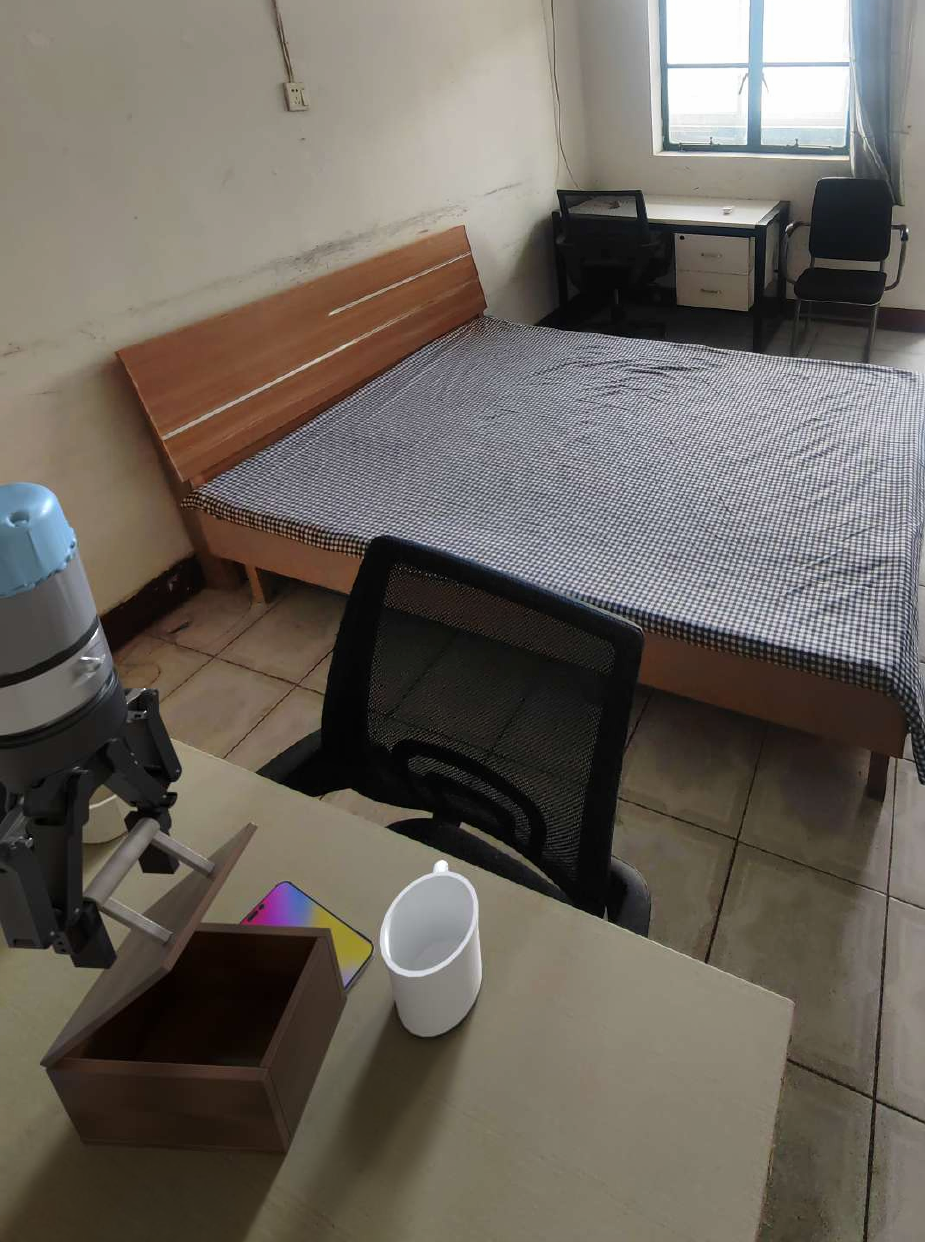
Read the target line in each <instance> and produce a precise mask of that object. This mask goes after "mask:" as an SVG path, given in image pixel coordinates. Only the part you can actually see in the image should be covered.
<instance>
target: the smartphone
mask: <svg viewBox="0 0 925 1242" xmlns="http://www.w3.org/2000/svg"><path fill="white" fill-rule="evenodd" d="M238 924H252V925H274V926H296V927H318V928H330V929H331V933H332V937H333V942H334V946H335V950H336V954H337V959H338V963H339V967H340V971H341V976H342V980H343V984H344V988H345V992H346V994H347V993H348V992H349V990H350V989H351V987H353V985H354V983H355V982H356V981H357V980H358V978H359V977H360V976H361V974H362V973H363V972H364V971H365V970H366V968H367V967H368V965H369V964H370V963H371V962H372V960H373V958H374V956H375V953H376V948H375V944H374V942H373V940H371V939H370V938H368V937H367V936H366V935H364V934H363V933H361V932H360V931H359V930H357V929H356V928H355V927H353V926H352V925H351V924H349V923H348V922H346V921H345V920H344V919H343V918H341V917H340V916H338V915H337V914H336V913H334V912H333V911H332V910H330V909H329V908H328V907H326V906H325V905H324V904H322V903H321V902H320V901H318V900H316V899H315V898H314V897H312V896H311V895H309V894H308V892H306V891H304V890H303V889H301V888H300V887H299V886H297V885H296V884H295V883H293V881H290V880H289V879H286V880H285V879H284V880H282V881H279V882H278V883H277V884H275V885H274V886H273V887H272V889H270V890H269V892H268V893H266V895H264V896H263V898H262V899H261V900H260V901H259V902H258V903H257V904H256V905H255V906H254V907H253V908H252V909H251V910H250V911H249V912H248V913H247V914H246V915H245V916H244V917H243V918H242V919H241V920H240V922H238Z"/></svg>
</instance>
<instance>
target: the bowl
mask: <svg viewBox="0 0 925 1242" xmlns="http://www.w3.org/2000/svg"><path fill="white" fill-rule="evenodd" d="M130 753H131V754H133V753H132V752H130ZM135 763H137V762H135ZM130 811H137V808H136V807H130V806H129V805H128V804H127V803H125V802H124V801H123V800H122V799H120V798H119V797H118V796H117V795H116V794H114V793H113V792H112V791H111V790H109V789H108V788H107V787H106V786H104V785H103V784H102V785H101V786H100V787H99V788H98V789H97V790H96V791H95V793H94V794H93V796H92V797H91V799H90V800H89V821H88V823H86V824H85V825H84V826H83V843H84V844H92V843H93V844H94V843H97V844H102V843H101V842H103V843H106V842H109V841H111V840H115V839H116V838H118V837H120V836H121V835H123V834H125V833H126V832H128V831H127V828H126V825H125V822H124V818H125V817H126V816H127V815H128V813H129V812H130ZM93 844H92V845H93Z"/></svg>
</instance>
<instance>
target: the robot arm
mask: <svg viewBox="0 0 925 1242" xmlns="http://www.w3.org/2000/svg"><path fill="white" fill-rule="evenodd" d="M70 526H71V525H70V522H69V521H68V520H67V519H66V517H65V514H64V512H63V509H62V507H61V504H60V502H59V500H58V497H57V496H56V494H55V493H54V492H53V491H52V490H50V489H48V488H47V487H45V486H44V485H40V484H37V483H32V482H23V481H15V482H11V483H8V484H4V485H0V782H1V784H2V785H3V786H4V787H5V789H6V798H5V803H4V804H5V805H4V809H5V812H6V813H7V814H6V816H5V817H4V819H2V821H1V823H0V927H1V929H2V933H3V935H4V938H5V941H6V944H7V947H8V948H9V949H20V950H21V949H23V950H48V949H49V948H51V947H52V948H53V951H54V953H55V954H57V955H66V956H67V955H68V956H69V957H70V960H71V962H72V964H73V966H74V968H77V969H96V970H97V969H98V970H104V969H110V968H111V966H112V965H113V963H114V962H115V960H116V959H117V955H116V953H115V952H116V950H115V948H114V945H113V943H112V940H111V938H110V935H109V933H108V930H107V927H106V925H105V923H104V920H103V918H102V916H101V912H100V911H99V910H98V908H97V905H96V903H95V901H83V892H84V882H83V881H84V877H83V876H84V873H83V872H84V871H83V869H84V865H83V864H84V863H83V860H84V853H83V852H84V851H83V848H84V847H83V845H84V844H83V843H84V842H83V826H84V825H85V824H86V823H88V821H89V800H90V799H91V797H92V796H93V794H94V793H95V791H96V790H97V789H98V788H99V787H100V786H101V785H102V784H103V785H104V786H106V787H107V788H108V789H109V790H111V791H112V792H113V793H114V794H116V795H117V796H118V797H119V798H120V799H122V800H123V801H124V802H125V803H127V804H128V805H129V806H130V807H136V808H137V811H130V812H129V813H128V815H127V816H126V817H125V818H124V822H125V825H126V828H127V831H126V832H127V833H128V834H129V833H130V831H131V830H132V829H133V828H134V826H135V825H136V824H137V822H138V821H139V820H140V819H142V818H152V819H154V820H156V821H157V822H158V823H159V825H160V830H159V831H161V832H162V833H164V834H166V835H167V836H169V837H171V833H170V829H171V828H172V823H173V820H172V816H171V813H170V809H172V808H173V807H174V806H175V804H176V802H177V800H178V798H179V797H178V792H177V791H168V790H169V788H170V786H171V784H172V783H176V782H178V781H179V779H180V778H181V776H182V773H183V767H182V764H181V762H180V759H179V757H178V755H177V752H176V750H175V747H174V745H173V743H172V740H171V737H170V735H169V733H168V731H167V728H166V725H165V723H164V721H163V718H162V716H161V713H160V691H159V689H157V688H147V687H146V688H144V687H125V688H124V687H123V684H122V682H121V678H120V675H119V673H118V670H117V668H116V667H115V666H114V664H113V656H112V653H111V650H110V647H109V644H108V640H107V638H106V634H105V632H104V629H103V626H102V622H101V620H100V617H99V616H98V611H97V607H96V604H95V601H94V596H93V594H92V591H91V587H90V584H89V581H88V577H87V574H86V571H85V566H84V564H83V561H82V558H81V555H80V551H79V547H78V541H77V540H78V539H77V535H76V534H75V531H74V528H73V527H70ZM124 737H125V739H126V742H127V744H128V747H129V749H130V751H129V750H128V749H127V748H126V747H125V744H124V743H123V739H124ZM131 753H132V754H131ZM135 762H137V763H135ZM29 835H31V836H32V837H29ZM32 846H33V849H34V851H33V850H32V849H31V847H32ZM137 861H138V864H139V867H140V869H141V872H142V874H155V875H175V873H176V872H177V871H178V869H179V868H180V866H181V864H180V861H179V860H177V859H176V858H174V857H172V856H171V855H169V854H167V853H166V852H164V851H162V850H161V849H159V848H158V847H156V846H154V845H153V844H151V843H150V844H149V845H148V846H147V848H146V849H145V850H144V852H143V853H142V854H141V856H140V857H139V858H138V860H137Z"/></svg>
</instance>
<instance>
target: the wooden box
mask: <svg viewBox="0 0 925 1242" xmlns="http://www.w3.org/2000/svg"><path fill="white" fill-rule="evenodd" d="M347 1001H348V997H347V993H346V992H345V988H344V984H343V980H342V976H341V971H340V967H339V963H338V959H337V954H336V950H335V946H334V942H333V937H332V933H331V929H330V928H318V927H296V926H274V925H252V924H239V923H227V922H209V921H208V922H205V921H201V922H200V923H199V925H198V927H197V928H196V930H195V932H194V933H193V935H192V936H191V938H190V940H189V941H188V943H187V945H186V946H185V948H184V950H183V951H182V953H181V955H180V956H179V958H178V960H177V961H176V963H175V965H174V966H173V968H172V969H171V971H170V972H169V973H168V974H167V975H165V976H164V977H163V978H161V979H160V980H159V981H158V982H156V983H155V984H154V985H153V986H151V987H150V988H149V989H148V990H146V991H145V992H144V993H142V994H141V995H140V996H139V997H137V998H136V999H135V1000H134V1001H132V1002H131V1003H130V1004H129V1005H127V1006H126V1007H125V1008H123V1009H122V1010H121V1011H120V1012H118V1013H117V1014H116V1015H115V1016H113V1017H112V1018H111V1019H110V1020H108V1021H107V1022H106V1023H104V1024H103V1025H102V1026H101V1027H99V1028H98V1029H97V1030H96V1031H94V1032H93V1033H92V1034H91V1035H89V1036H88V1037H87V1038H85V1039H84V1040H83V1041H82V1042H80V1043H79V1044H78V1045H77V1046H75V1047H74V1048H73V1049H72V1050H70V1051H69V1052H68V1053H66V1054H65V1055H64V1056H63V1057H61V1058H60V1059H59V1060H58V1061H56V1062H55V1063H54V1064H53V1065H51V1066H50V1067H49V1068H45V1073H46V1075H47V1076H48V1079H49V1081H50V1082H51V1084H52V1086H53V1088H54V1091H55V1092H56V1094H57V1097H58V1098H59V1100H60V1102H61V1104H62V1106H63V1108H64V1110H65V1113H66V1114H67V1116H68V1118H69V1120H70V1122H71V1124H72V1126H73V1128H74V1130H75V1132H76V1135H77V1136H78V1138H79V1140H80V1143H81V1145H84V1146H85V1145H86V1146H87V1145H88V1146H104V1147H105V1146H106V1147H122V1148H123V1147H125V1148H140V1149H141V1148H143V1149H158V1150H159V1149H160V1150H161V1149H162V1150H177V1151H178V1150H179V1151H180V1150H181V1151H198V1152H216V1153H217V1152H218V1153H219V1152H220V1153H233V1154H234V1153H235V1154H236V1153H237V1154H251V1155H252V1154H253V1155H254V1154H255V1155H271V1156H272V1155H273V1156H287V1155H288V1152H289V1150H290V1147H291V1144H292V1142H293V1140H294V1137H295V1134H296V1132H297V1130H298V1127H299V1125H300V1122H301V1118H302V1116H303V1114H304V1111H305V1109H306V1107H307V1103H308V1102H309V1099H310V1096H311V1093H312V1091H313V1089H314V1085H315V1084H316V1080H317V1078H318V1075H319V1073H320V1070H321V1068H322V1065H323V1063H324V1060H325V1058H326V1056H327V1052H328V1049H329V1047H330V1045H331V1042H332V1040H333V1037H334V1034H335V1031H336V1029H337V1026H338V1024H339V1021H340V1019H341V1017H342V1015H343V1011H344V1009H345V1007H346V1003H347Z"/></svg>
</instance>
